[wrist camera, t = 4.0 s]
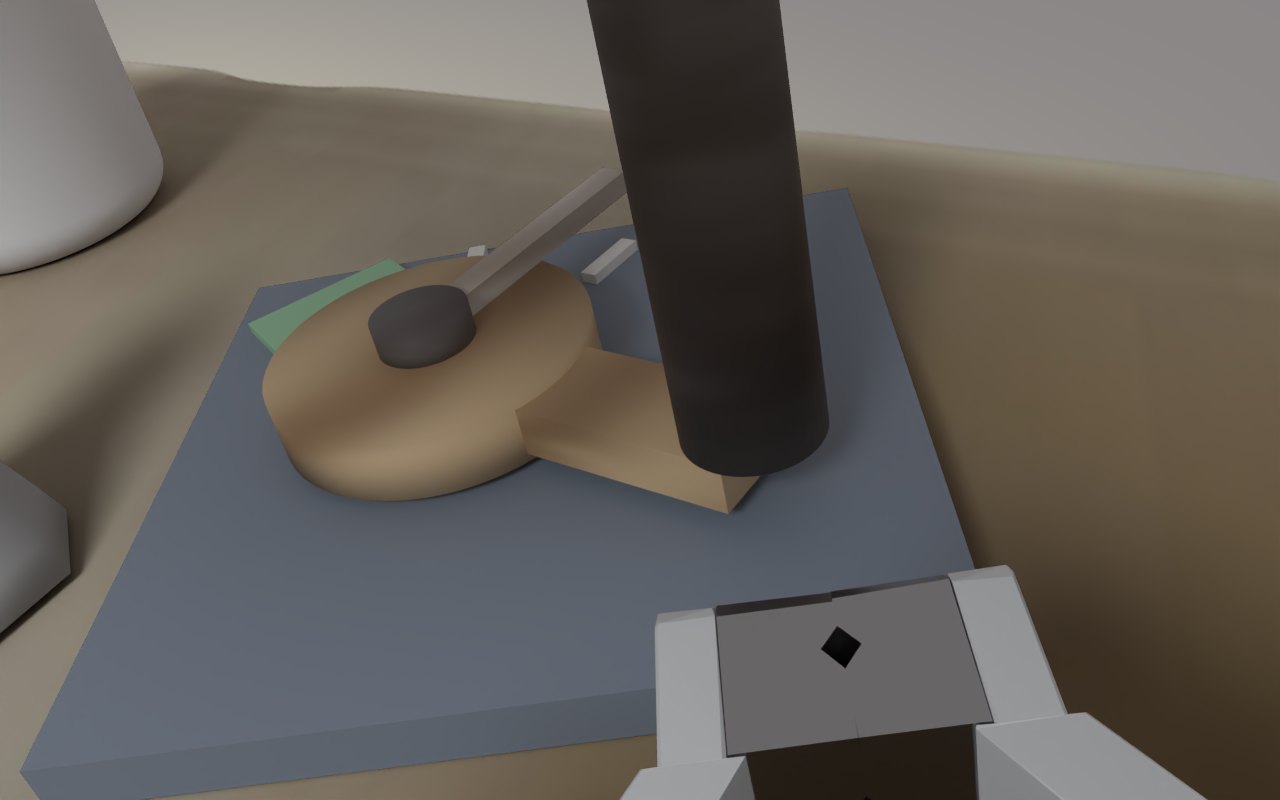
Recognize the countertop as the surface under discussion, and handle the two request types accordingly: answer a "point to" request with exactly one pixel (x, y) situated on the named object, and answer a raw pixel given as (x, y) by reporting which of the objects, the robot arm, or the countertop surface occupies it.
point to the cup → (66, 134)
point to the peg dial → (562, 312)
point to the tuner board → (468, 566)
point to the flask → (29, 545)
